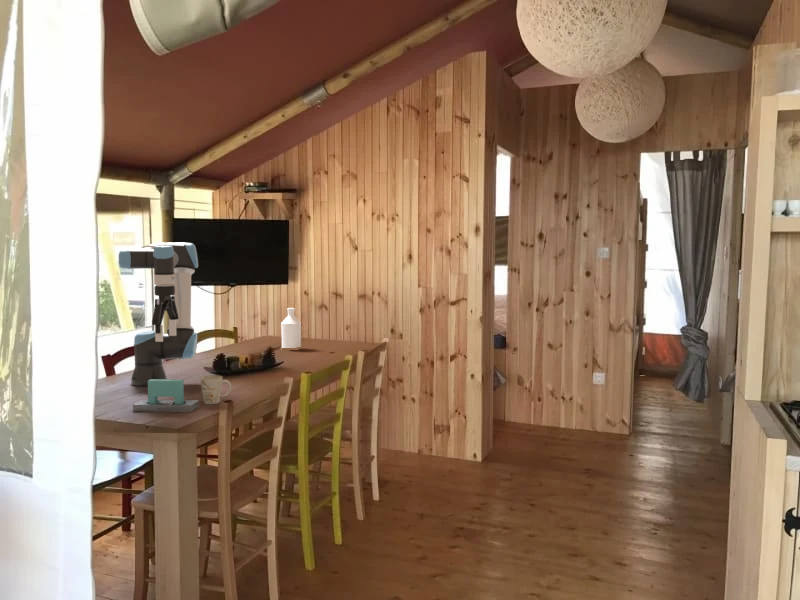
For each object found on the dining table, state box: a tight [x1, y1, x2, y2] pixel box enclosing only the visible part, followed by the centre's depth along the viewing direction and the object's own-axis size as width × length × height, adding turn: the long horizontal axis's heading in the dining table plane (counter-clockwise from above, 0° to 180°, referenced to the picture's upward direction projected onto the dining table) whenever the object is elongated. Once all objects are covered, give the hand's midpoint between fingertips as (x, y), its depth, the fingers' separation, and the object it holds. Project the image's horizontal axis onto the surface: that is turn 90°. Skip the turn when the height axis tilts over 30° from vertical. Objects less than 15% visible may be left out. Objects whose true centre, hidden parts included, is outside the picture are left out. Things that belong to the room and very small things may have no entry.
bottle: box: [280, 307, 302, 349], centre depth 391 cm, size 12×12×25 cm
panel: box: [147, 378, 185, 404], centre depth 244 cm, size 12×3×11 cm, turn 88°
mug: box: [200, 374, 232, 405], centre depth 257 cm, size 8×13×10 cm, turn 135°
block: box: [132, 399, 200, 413], centre depth 244 cm, size 22×8×2 cm, turn 88°
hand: (166, 338), depth 258 cm, fingers open, 13 cm apart
